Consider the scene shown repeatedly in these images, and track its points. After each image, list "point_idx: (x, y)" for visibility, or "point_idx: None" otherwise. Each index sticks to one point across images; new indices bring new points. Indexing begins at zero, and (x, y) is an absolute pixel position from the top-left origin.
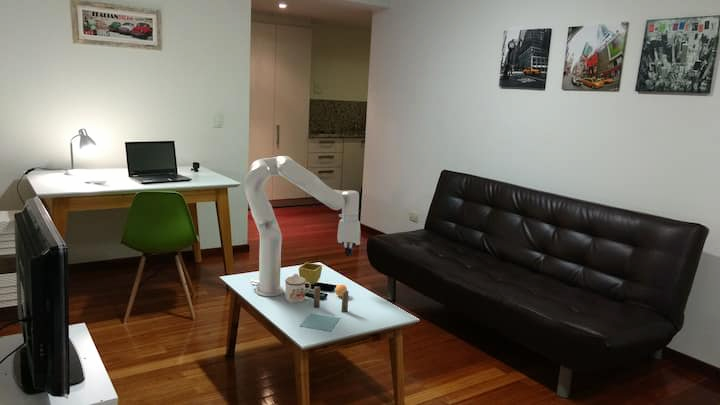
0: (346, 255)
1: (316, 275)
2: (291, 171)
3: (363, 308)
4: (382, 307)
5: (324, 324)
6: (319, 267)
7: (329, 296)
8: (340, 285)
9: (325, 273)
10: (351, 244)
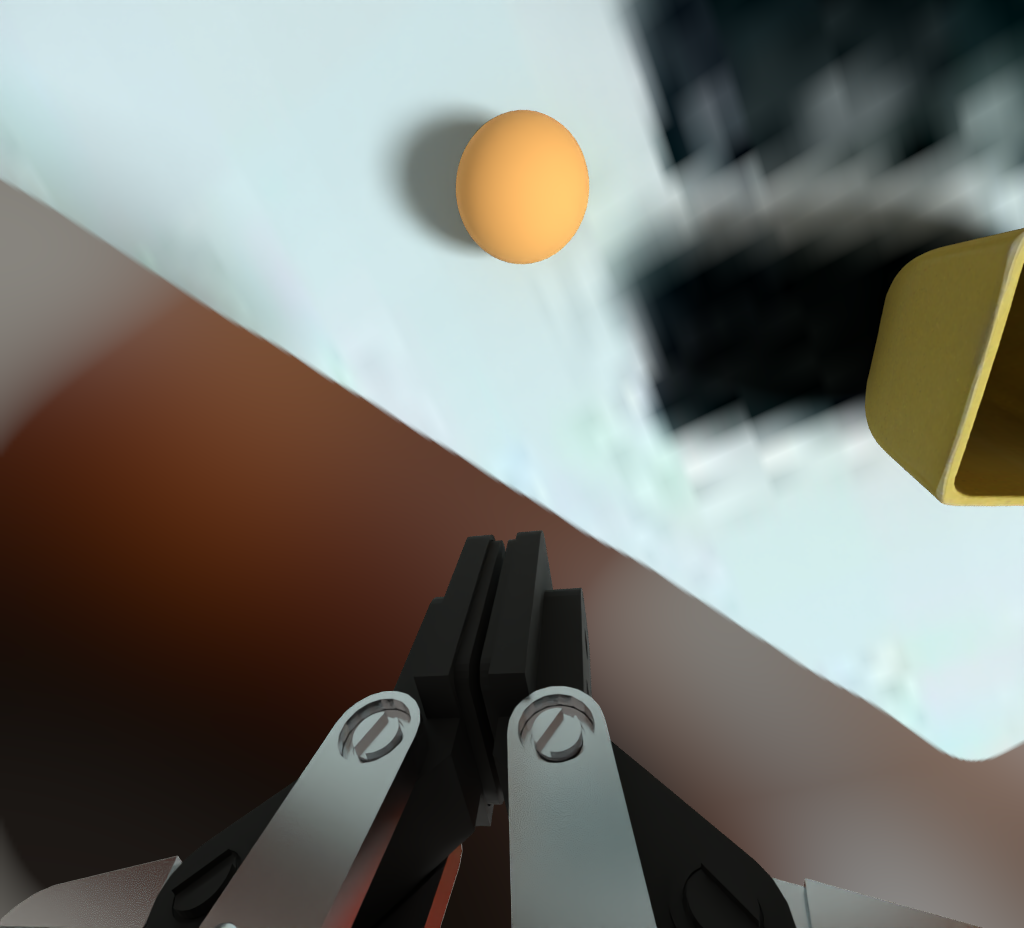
0: (528, 536)
1: (929, 311)
2: None
3: (201, 9)
4: (103, 154)
5: None
6: (967, 405)
7: (625, 117)
8: (515, 156)
9: (843, 624)
10: (286, 845)
